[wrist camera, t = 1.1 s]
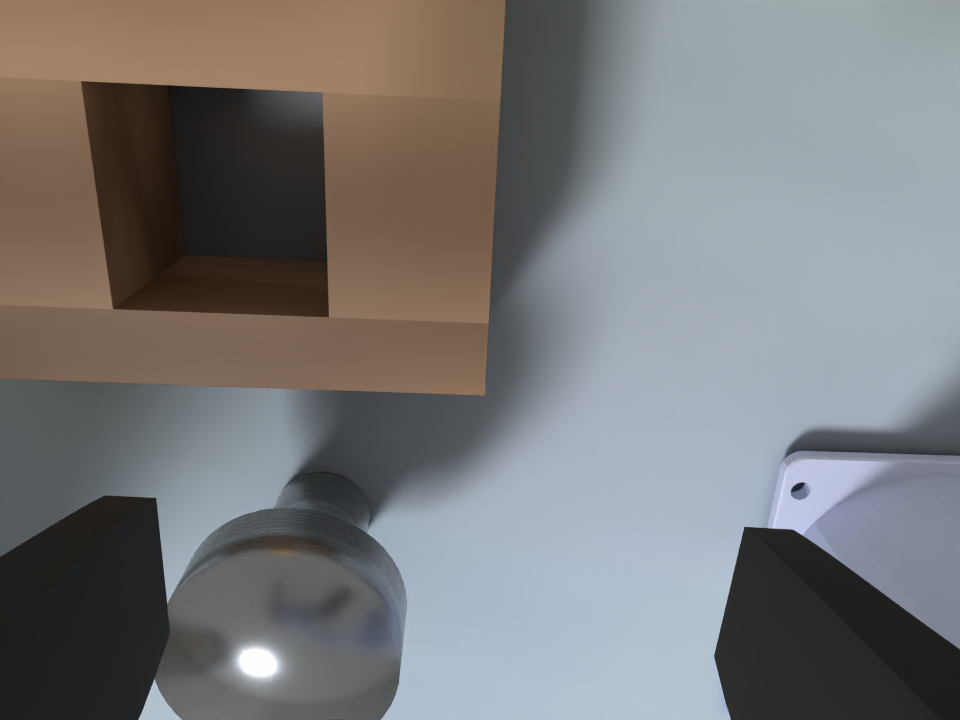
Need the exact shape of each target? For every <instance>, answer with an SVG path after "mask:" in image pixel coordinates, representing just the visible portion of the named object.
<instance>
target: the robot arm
mask: <svg viewBox="0 0 960 720" xmlns="http://www.w3.org/2000/svg"><path fill="white" fill-rule="evenodd" d="M801 482H804V483H805V484H804V486H803V487H802V488H801V489H800V490H798V491H795V492H791V489H792V487H793V486H794V485H796V484H797V483H801ZM169 635H170V627H169V618H168V608H167V598H166V589H165V579H164V570H163V560H162V550H161V541H160V531H159V522H158V512H157V502H156V498H143V497H123V496H103V497H101V498H99V499H97V500H95V501H93V502H92V503H90V504H88V505H86V506H84V507H82V508H81V509H79V510H77V511H76V512H74V513H72V514H70V515H69V516H67V517H65V518H64V519H62V520H60V521H59V522H57V523H55V524H54V525H52V526H50V527H49V528H47V529H45V530H44V531H42V532H40V533H39V534H37V535H36V536H34V537H32V538H31V539H29V540H27V541H26V542H24V543H23V544H21V545H19V546H18V547H16V548H14V549H13V550H11V551H9V552H8V553H6V554H4V555H3V556H1V557H0V720H138V719H139V717H140V715H141V713H142V710H143V707H144V705H145V702H146V699H147V697H148V694H149V691H150V689H151V686H152V683H153V681H154V678H155V675H156V673H157V670H158V667H159V664H160V661H161V658H162V655H163V652H164V650H165V647H166V644H167V641H168V638H169ZM714 657H715V661H716V665H717V669H718V673H719V677H720V681H721V685H722V689H723V694H724V698H725V701H726V705H727V711H726V713H727V719H728V720H960V456H948V455H917V454H886V453H856V452H825V451H798V452H794V453H792V454H790V455H788V456H787V457H786V458H785V459H784V460H783V462H782V465H781V467H780V471H779V476H778V480H777V485H776V489H775V494H774V498H773V503H772V507H771V512H770V516H769V521H768V526H767V528H754V527H744V532H743V536H742V540H741V544H740V549H739V553H738V557H737V561H736V566H735V570H734V574H733V578H732V583H731V587H730V591H729V595H728V600H727V604H726V608H725V612H724V617H723V621H722V625H721V629H720V634H719V638H718V642H717V647H716V651H715V655H714Z"/></svg>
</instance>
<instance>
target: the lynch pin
mask: <svg viewBox="0 0 960 720" xmlns="http://www.w3.org/2000/svg"><path fill="white" fill-rule="evenodd" d="M369 520H370V509H369V505H368V502H367V499H366V497H365V496H364V494H363V493H362V491H361V490H360V489H359V488H358V487H357V486H356V485H355V484H353V483H352V482H351V481H349V480H347V479H346V478H344V477H341V476H339V475H336V474H331V473H324V472H316V473H309V474H305V475H302V476H300V477H298V478H296V479H294V480H293V481H291V482H290V483H289V484H288V485H287V486H286V487H285V488H284V489H283V491H282V492H281V494H280V496H279V498H278V501H277V503H276V506H275V508H273V509H266V510H260V511H256V512H252V513H248V514H245V515H243V516H240V517H238V518H235V519H233V520H231V521H229V522H228V523H226V524H224V525H222V526H221V527H219V528H218V529H217V530H215V531H214V532H213V533H211V534H210V535H209V536H208V537H207V538H206V539H205V540H204V541H203V542H202V544H201V545H200V546H199V548H198V549H197V550H196V552H195V553H194V555H193V557H192V559H191V561H190V563H189V564H188V566H187V568H186V570H185V572H184V574H183V576H182V578H181V579H180V581H179V583H178V585H177V587H176V589H175V591H174V593H173V594H172V596H171V598H170V600H169V602H168V604H167V608H168V618H169V627H170V635H169V638H168V641H167V644H166V647H165V650H164V652H163V655H162V658H161V661H160V664H159V667H158V670H157V673H156V675H155V678H154V679H155V681H156V683H157V686H158V688H159V690H160V692H161V694H162V696H163V697H164V699H165V701H166V702H167V703H168V705H169V706H170V707H171V708H172V710H173V711H174V712H175V713H176V714H177V715H178V716H179V717H180V718H181V719H182V720H381V719H382V717H383V716H384V715H385V713H386V712H387V710H388V709H389V707H390V706H391V704H392V701H393V699H394V697H395V695H396V691H397V687H398V684H399V675H400V666H401V656H402V647H403V637H404V628H405V619H406V608H407V600H406V591H405V587H404V582H403V579H402V577H401V574H400V572H399V570H398V568H397V566H396V564H395V563H394V561H393V559H392V558H391V557H390V555H389V554H388V553H387V552H386V550H385V549H384V548H383V547H382V546H381V545H380V544H379V543H378V542H377V541H376V540H375V539H374V538H372V537H371V536H370V535H368V534H367V530H368V525H369Z"/></svg>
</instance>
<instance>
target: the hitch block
mask: <svg viewBox="0 0 960 720" xmlns="http://www.w3.org/2000/svg"><path fill="white" fill-rule="evenodd" d="M505 6H506V0H0V379H23V380H52V381H81V382H110V383H139V384H167V385H196V386H225V387H254V388H283V389H312V390H341V391H370V392H399V393H428V394H457V395H485V383H486V364H487V345H488V326H489V307H490V289H491V270H492V251H493V232H494V213H495V194H496V175H497V157H498V138H499V119H500V100H501V81H502V62H503V43H504V25H505ZM168 85H174V86H195V87H216V88H237V89H259V90H280V91H301V92H322V95H323V129H324V163H325V197H326V230H327V261H325V260H300V259H275V258H250V257H225V256H200V255H185V248H184V238H183V228H182V219H181V209H180V199H179V189H178V179H177V169H176V159H175V149H174V139H173V129H172V119H171V109H170V99H169V89H168Z"/></svg>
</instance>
